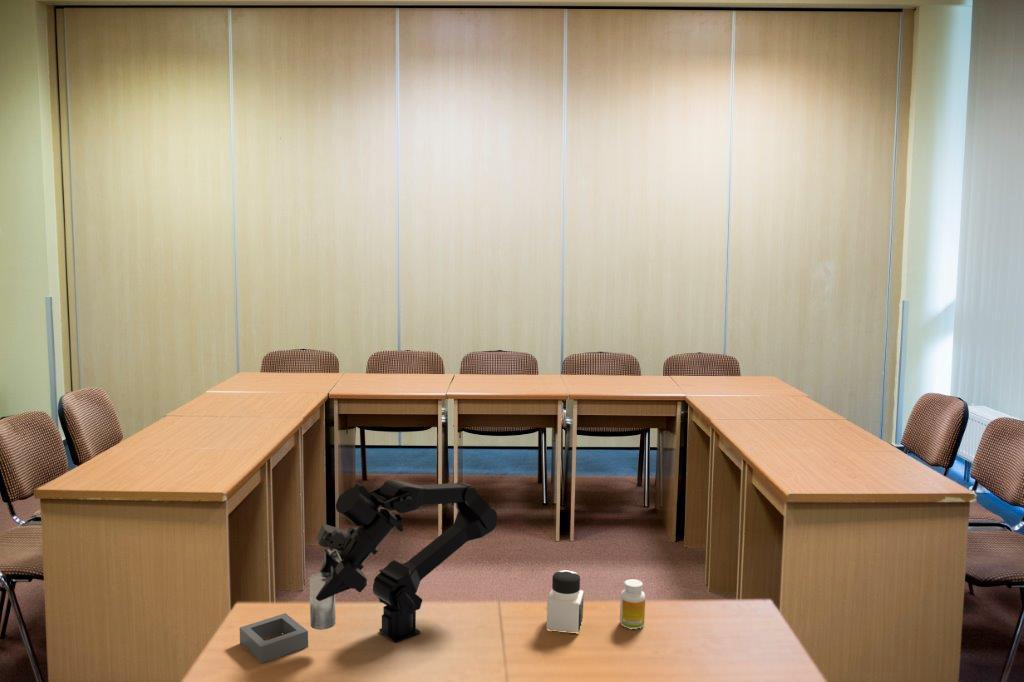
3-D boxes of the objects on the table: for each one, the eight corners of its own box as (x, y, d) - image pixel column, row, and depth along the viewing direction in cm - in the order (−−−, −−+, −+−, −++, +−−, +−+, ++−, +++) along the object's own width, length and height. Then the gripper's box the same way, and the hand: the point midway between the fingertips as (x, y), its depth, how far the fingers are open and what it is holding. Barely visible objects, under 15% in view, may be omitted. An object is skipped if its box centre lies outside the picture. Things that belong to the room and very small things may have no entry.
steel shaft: (327, 615, 172) (327, 569, 171) (340, 624, 169) (339, 577, 167) (305, 622, 169) (304, 576, 168) (318, 632, 165) (317, 584, 164)
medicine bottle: (579, 635, 178) (580, 582, 176) (546, 631, 179) (547, 578, 178) (582, 620, 185) (584, 568, 183) (551, 616, 186) (552, 565, 185)
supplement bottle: (648, 629, 181) (649, 587, 180) (624, 631, 180) (626, 589, 179) (638, 617, 187) (640, 576, 185) (616, 619, 185) (617, 578, 184)
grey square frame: (285, 628, 178) (285, 613, 178) (308, 646, 171) (307, 630, 170) (239, 643, 172) (239, 627, 171) (261, 663, 164) (260, 646, 164)
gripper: (332, 497, 175) (280, 553, 173) (349, 527, 158) (291, 590, 156) (369, 528, 180) (319, 583, 177) (390, 561, 162) (334, 623, 160)
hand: (315, 594), depth 167 cm, fingers closed on steel shaft, 5 cm apart
